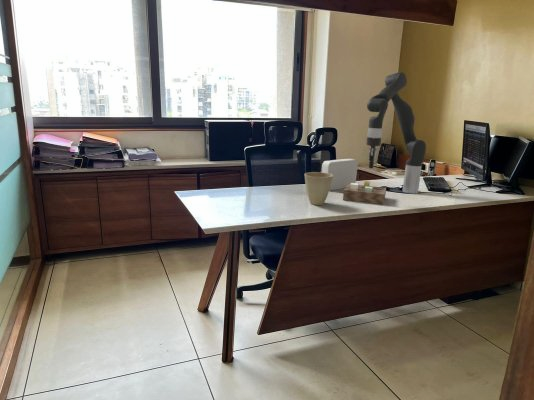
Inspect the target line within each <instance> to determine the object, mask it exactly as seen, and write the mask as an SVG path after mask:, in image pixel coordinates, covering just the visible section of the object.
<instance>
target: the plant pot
mask: <svg viewBox="0 0 534 400" xmlns="http://www.w3.org/2000/svg"><path fill="white" fill-rule="evenodd" d="M332 177H333V175H332V174H329V173H322V171H320V172H318V171H312V172H311V171H310V172H305V173H304V182H305V183H304V184H305V189H306V193H307V197H308V201H309V203H310V205H313V206H323V205H324V204H325V202H326V200H327V197H328V196H329V195H328V194H329V192H330V191H329V189H330V186H331V182H332Z"/></svg>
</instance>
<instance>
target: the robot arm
mask: <svg viewBox="0 0 534 400" xmlns="http://www.w3.org/2000/svg"><path fill="white" fill-rule="evenodd" d="M407 83H408V80H407V76H406V74H405V72H404V71H403V72H402V71H399V72H395V73H391V74H389V75H386V77H385V78H384V85H385V87H384V88H382V89H381V91H379V93H378V94H376V95H374V96H371V98H370V99H369V100H368V102H367V105H366V108H367V110H368V111H369V112H370V113H378V114H377V115H375V116H370V117H369V121H368V129H367V135H366V145H367V146H370V147H369V148H368V158H369V159H368V161H369V162H368V163H369V164H368V169H374V163H375V160H376V159H375V158H376V157H377V156H376V155H377V152H378V148H377V147H380V146H381V145H382V138H383V137H382V136H383V123H384V119H385V118H384V117H385V116H386V112H387V111H388V107H389V102H390V101H391V102H392V105H393V108H394V110H395V111H394V112H395V115H396V118H397V120H398V123H399V127H400V131H401V133H402V137H403V143H404V146H405V150H406V151H407V153H409V154H410V158H409V159H407V160H406V161H405V169H404V170H405V171H404V177H403V185H402V192H403V193H406V194H415V195H416V194H417V195H418V194H419V188H420V181H421V173H422V172H421V171H422V167H423V166H422V165H423V163H424V160H425V157H426V156H425V155H426V151H427V145H426V142H425V141H424V140H422V139H418V138H417V136H416V134H415V130H414V127H415V115H414V112H413V109H412V108H413V107H412V106H410V104H409V103H407V101H405V100H404V99H403V98H402V97H401V96H400V95H399V93H398V92H399V91H401V90H402V89H404V88H405V87H406V86H407Z"/></svg>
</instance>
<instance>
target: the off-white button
mask: <svg viewBox="0 0 534 400" xmlns="http://www.w3.org/2000/svg"><path fill="white" fill-rule="evenodd" d="M358 185H359V183H357V182H356V183H351V184H350V190H358Z"/></svg>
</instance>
